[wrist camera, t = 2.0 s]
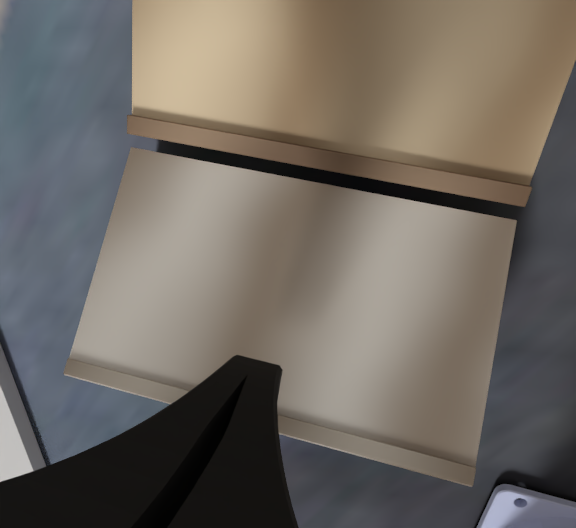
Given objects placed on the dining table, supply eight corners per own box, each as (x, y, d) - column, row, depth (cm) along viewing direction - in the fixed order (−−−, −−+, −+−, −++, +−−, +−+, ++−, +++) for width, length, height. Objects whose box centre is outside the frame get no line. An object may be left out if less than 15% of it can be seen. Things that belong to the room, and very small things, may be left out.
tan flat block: (498, 231, 15) (517, 219, 13) (456, 470, 14) (472, 487, 12) (149, 163, 16) (130, 146, 15) (90, 370, 15) (62, 375, 14)
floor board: (580, -10, 12) (612, -29, 10) (507, 194, 14) (524, 206, 13) (159, -60, 14) (127, -82, 12) (154, 130, 16) (127, 133, 14)
